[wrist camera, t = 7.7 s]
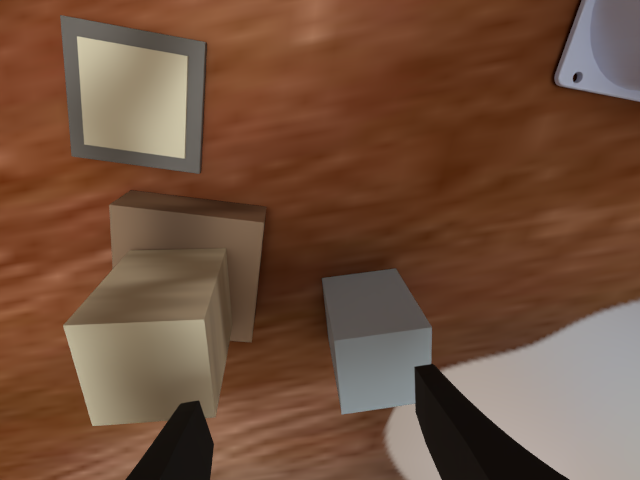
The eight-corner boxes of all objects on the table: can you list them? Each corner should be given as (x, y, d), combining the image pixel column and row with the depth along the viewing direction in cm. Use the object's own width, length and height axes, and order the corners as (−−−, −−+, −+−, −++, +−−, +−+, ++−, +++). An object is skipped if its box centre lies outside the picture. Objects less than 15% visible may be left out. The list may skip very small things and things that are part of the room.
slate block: (395, 268, 23) (431, 327, 17) (397, 329, 24) (430, 401, 19) (321, 277, 22) (334, 340, 17) (328, 339, 24) (341, 414, 19)
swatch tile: (206, 43, 17) (204, 41, 17) (201, 172, 19) (198, 174, 19) (65, 16, 16) (57, 14, 16) (75, 154, 18) (69, 157, 18)
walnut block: (266, 204, 21) (264, 222, 18) (255, 312, 23) (251, 342, 20) (133, 188, 20) (109, 204, 17) (136, 302, 22) (116, 332, 19)
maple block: (225, 247, 18) (204, 319, 13) (232, 325, 20) (215, 417, 14) (129, 250, 18) (63, 325, 12) (144, 329, 19) (92, 425, 14)
